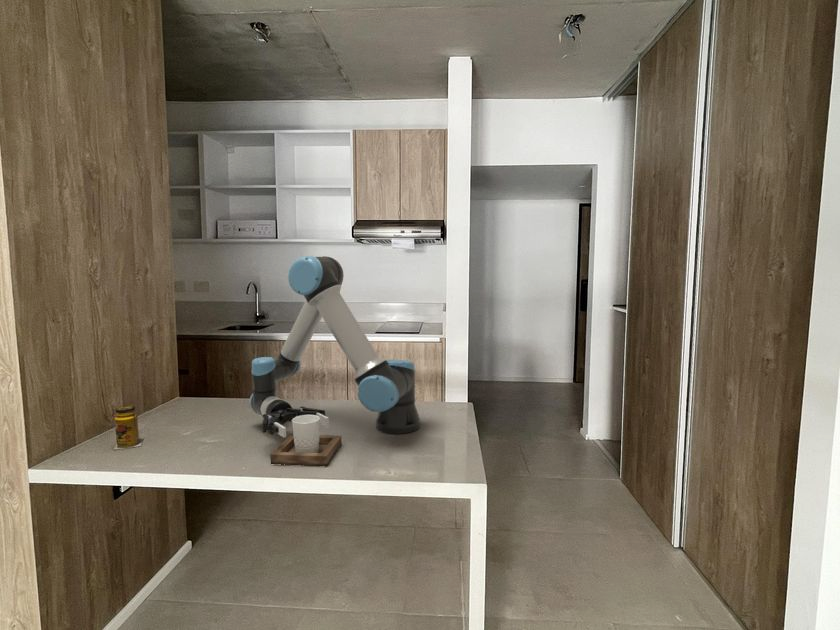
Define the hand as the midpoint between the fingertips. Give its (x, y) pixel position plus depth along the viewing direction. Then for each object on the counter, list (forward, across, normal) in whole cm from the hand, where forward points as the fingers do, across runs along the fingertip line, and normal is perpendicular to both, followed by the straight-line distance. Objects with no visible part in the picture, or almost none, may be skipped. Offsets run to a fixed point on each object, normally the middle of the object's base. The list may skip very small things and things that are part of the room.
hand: (307, 427), depth 142 cm
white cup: (0, 0, -8) cm, 8 cm away
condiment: (-45, +38, -9) cm, 60 cm away
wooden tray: (0, 0, -8) cm, 8 cm away
